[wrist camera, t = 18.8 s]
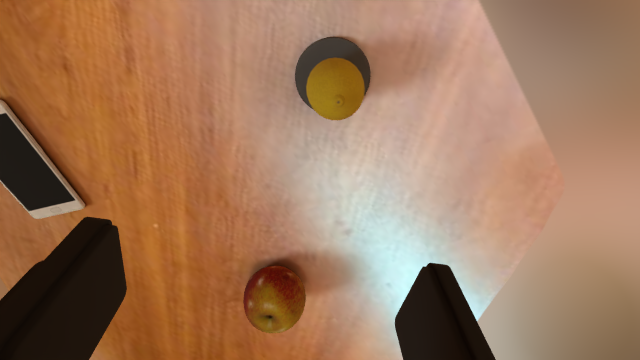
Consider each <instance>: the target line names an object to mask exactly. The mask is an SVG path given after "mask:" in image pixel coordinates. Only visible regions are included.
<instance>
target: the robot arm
mask: <svg viewBox="0 0 640 360" xmlns="http://www.w3.org/2000/svg"><path fill="white" fill-rule="evenodd" d="M126 290H127V286H126V279H125V273H124V266H123V260H122V253H121V246H120V240H119V233H118V228H117V226H114V225H112V222H111V221H110V220H108V219H100V218H93V217H86V218H84V219H83V220H81V222H80V223H79V224H78V225H77V226H76V227H75V228H74V229H73V230H72V231H71V232H70V233H69V234H68V235H67V236H66V238H65V239H64V240H63V241H62V242H61V243H60V244H59V245H58V246H57V247H56V248H55V249H54V250H53V251H52V252H51V254H50V255H49V256H48V257H47V258H46V259H45V260H44V261H41V262H38V263H37V264H35V265H34V266H33V267H32V268H31V269H30V270H29V271H28V272H27V273H26V274H25V275H24V276H23V277H22V278H21V279H20V280H19V281H18V282H17V283H16V284H15V286H14V287H13V288H12V289H11V290H10V291H9V292H8V293H7V294H6V295H5V296H4V297H3V298H2V299H1V300H0V360H89V359H90V357H91V355H92V353H93V352H94V350H95V348H96V347H97V345H98V343H99V341H100V340H101V338H102V336H103V334H104V333H105V331H106V329H107V327H108V326H109V324H110V322H111V320H112V319H113V317H114V315H115V313H116V312H117V310H118V308H119V307H120V305H121V303H122V301H123V299H124V297H125V294H126ZM395 328H396V332H397V336H398V340H399V344H400V348H401V352H402V356H403V360H496V359H495V357H494V355H493V353H492V351H491V349H490V347H489V345H488V343H487V341H486V339H485V337H484V335H483V333H482V331H481V329H480V327H479V325H478V323H477V321H476V319H475V317H474V315H473V313H472V311H471V309H470V307H469V305H468V303H467V301H466V299H465V297H464V295H463V292H462V290H461V288H460V286H459V284H458V282H457V280H456V278H455V276H454V274H453V272H452V270H451V268H450V267H449V266H448V265H443V264H435V263H429V264H428V265H427V266H426V267H422V269H421V271H420V272H419V274H418V276H417V278H416V280H415V282H414V284H413V286H412V287H411V289H410V291H409V293H408V295H407V297H406V299H405V300H404V302H403V304H402V306H401V308H400V310H399V312H398V314H397V315H396V318H395Z"/></svg>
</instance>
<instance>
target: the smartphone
mask: <svg viewBox="0 0 640 360" xmlns="http://www.w3.org/2000/svg"><path fill="white" fill-rule="evenodd" d="M0 182H1V183H2V184H3V185H4V186H5V188H6V189H7V190H8V191H9V192H10V193H11V194H12V195H13V196H14V197H15V198H16V200H17V201H18V202H19V203H20V204H21V205H22V206H23V207H24V208H25V209H26V210H27V211H28V213H29V214H30V215H31V216H32V217H33V218H35V219H41V218H45V217H50V216H54V215H58V214H63V213H67V212H72V211H76V210H80V209H83V208H84V207H85V203H84V202H83V201H82V199H81V198H80V197H79V196H78V194H77V193H76V192H75V190H74V189H73V188H72V187H71V185H70V184H69V183H68V182H67V180H66V179H65V178H64V176H63V175H62V174H61V173H60V171H59V170H58V169H57V167H56V166H55V165H54V164H53V162H52V161H51V160H50V159H49V157H48V156H47V155H46V153H45V152H44V151H43V150H42V148H41V147H40V146H39V145H38V143H37V142H36V141H35V139H34V138H33V137H32V136H31V134H30V133H29V132H28V131H27V129H26V128H25V127H24V125H23V124H22V123H21V122H20V120H19V119H18V118H17V117H16V115H15V114H14V113H13V111H12V110H11V109H10V108H9V106H8V105H7V104H6V103H5V102H4V101H3V100H0Z"/></svg>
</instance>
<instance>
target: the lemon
mask: <svg viewBox="0 0 640 360" xmlns="http://www.w3.org/2000/svg"><path fill="white" fill-rule="evenodd" d="M306 89H307V97H308V100H309V103H310V104H311V106H312V108H313V109H314V110H315V111H316V112H317V113H318V114H319V115H320V116H322V117H324V118H326V119H330V120H342V119H346V118H348V117H350V116H351V115H353V114H354V113H355V112H356V111H357V110H358V108H359V107H360V105H361V103H362V101H363V98H364V92H365V87H364V80H363V78H362V75H361V73H360V71H359V70H358V68H357V67H356V66H355V65H354V64H352V63H351V62H350V61H347V60H345V59H342V58H328V59H326V60H323V61H321V62H320V63H319V64H317V65H316V66H315V67H314V68H313V70H312V71H311V73H310V75H309V77H308V81H307V86H306Z"/></svg>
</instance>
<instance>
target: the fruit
mask: <svg viewBox="0 0 640 360" xmlns="http://www.w3.org/2000/svg"><path fill="white" fill-rule="evenodd" d="M305 300H306V295H305V289H304V286H303V284H302V282H301V280H300V279H299V277H298V276H297V275H296V274H295V273H294V272H292V271H291V270H289V269H288V268H285V267H283V266H268V267H265V268H263V269H261V270H259V271H258V272H256V273H255V274H254V275H253V276H252V277H251V278H250V280H249V281H248V283H247V285H246V288H245V292H244V309H245V313H246V316H247V318H248V320H249V321H250V323H251V324H252V325H253V326H254V327H255V328H257V329H259V330H261V331H263V332H266V333H280V332H284V331H286V330H288V329H290V328H291V327H293V326H294V325H295V324H296V322H297V321H298V320H299V319H300V317H301V315H302V313H303V310H304V306H305Z"/></svg>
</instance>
